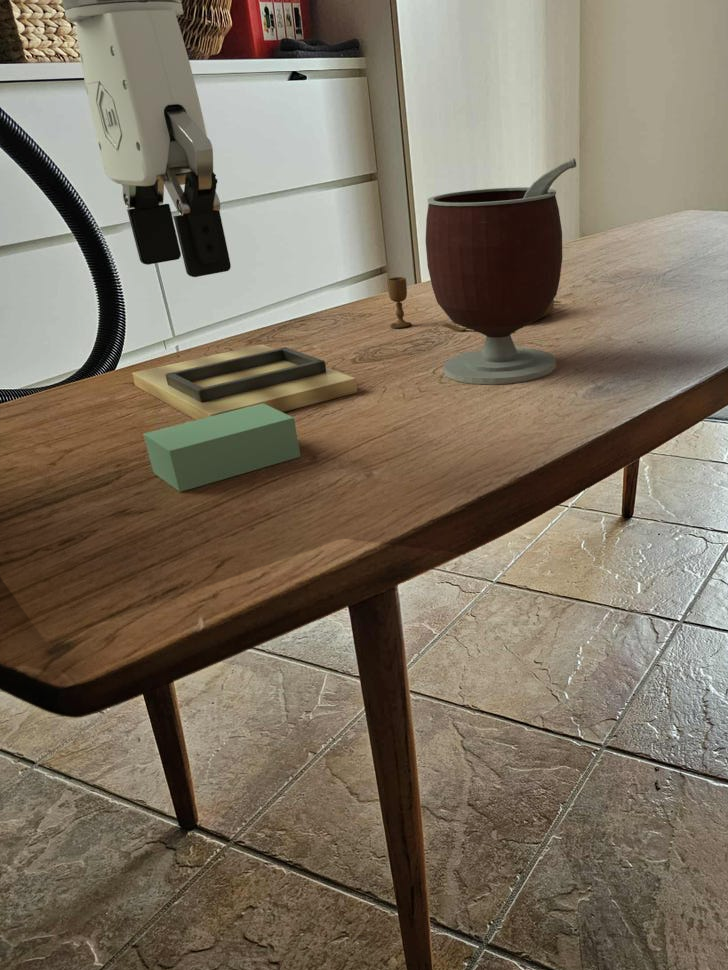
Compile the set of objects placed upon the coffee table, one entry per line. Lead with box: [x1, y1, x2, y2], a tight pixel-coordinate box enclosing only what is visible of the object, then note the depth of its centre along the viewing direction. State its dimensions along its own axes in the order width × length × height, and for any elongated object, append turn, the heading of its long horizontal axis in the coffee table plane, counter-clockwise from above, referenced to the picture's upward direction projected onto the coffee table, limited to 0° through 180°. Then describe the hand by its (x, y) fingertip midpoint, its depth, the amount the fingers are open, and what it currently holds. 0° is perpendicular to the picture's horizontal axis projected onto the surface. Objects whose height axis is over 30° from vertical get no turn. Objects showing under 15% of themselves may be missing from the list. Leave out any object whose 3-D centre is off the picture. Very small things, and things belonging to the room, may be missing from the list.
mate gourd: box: [425, 158, 577, 385], centre depth 93 cm, size 16×14×20 cm
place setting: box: [386, 276, 562, 332], centre depth 119 cm, size 18×20×6 cm
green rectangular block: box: [143, 403, 302, 493], centre depth 76 cm, size 11×6×4 cm, turn 128°
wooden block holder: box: [131, 343, 358, 421], centre depth 96 cm, size 16×22×3 cm
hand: (184, 267), depth 68 cm, fingers open, 9 cm apart
